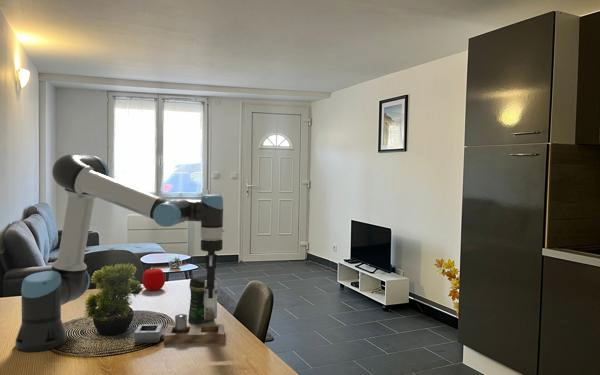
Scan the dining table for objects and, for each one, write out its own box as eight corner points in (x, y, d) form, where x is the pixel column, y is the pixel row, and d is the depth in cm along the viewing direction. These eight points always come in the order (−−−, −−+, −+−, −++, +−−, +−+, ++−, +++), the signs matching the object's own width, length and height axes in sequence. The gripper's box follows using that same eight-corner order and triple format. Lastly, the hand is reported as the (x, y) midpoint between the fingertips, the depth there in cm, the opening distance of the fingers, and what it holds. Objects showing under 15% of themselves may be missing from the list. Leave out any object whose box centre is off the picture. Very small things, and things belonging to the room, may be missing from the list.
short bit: (174, 340, 163) (174, 317, 163) (175, 336, 167) (175, 314, 167) (186, 340, 164) (186, 317, 163) (187, 336, 168) (187, 313, 167)
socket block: (134, 345, 160) (134, 332, 160) (138, 337, 168) (139, 324, 168) (158, 344, 162) (158, 332, 161) (162, 336, 169) (162, 324, 169)
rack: (163, 347, 160) (164, 335, 160) (167, 336, 170) (168, 325, 170) (223, 345, 163) (224, 334, 163) (224, 335, 173) (224, 324, 172)
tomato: (164, 292, 227) (165, 269, 227) (141, 293, 224) (142, 270, 224) (164, 286, 237) (165, 265, 237) (142, 287, 234) (142, 266, 234)
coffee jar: (197, 328, 179) (198, 279, 178) (185, 323, 184) (185, 276, 183) (217, 322, 186) (218, 275, 185) (205, 317, 191) (206, 272, 191)
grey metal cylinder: (203, 319, 164) (203, 282, 163) (204, 315, 169) (204, 279, 168) (217, 319, 165) (217, 282, 164) (217, 315, 169) (218, 279, 169)
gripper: (222, 243, 157) (220, 312, 158) (223, 235, 175) (222, 297, 176) (199, 243, 156) (198, 312, 157) (202, 235, 173) (201, 297, 175)
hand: (210, 304), depth 166 cm, fingers closed on grey metal cylinder, 5 cm apart
